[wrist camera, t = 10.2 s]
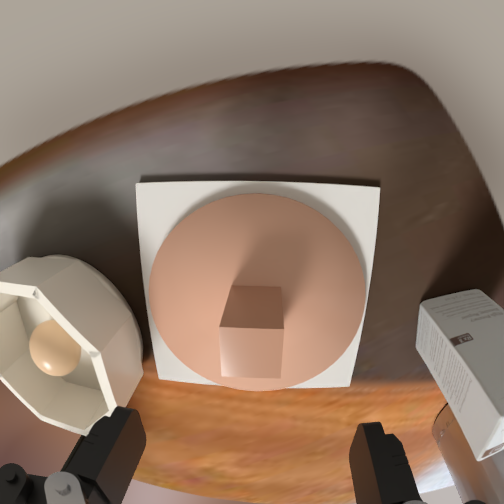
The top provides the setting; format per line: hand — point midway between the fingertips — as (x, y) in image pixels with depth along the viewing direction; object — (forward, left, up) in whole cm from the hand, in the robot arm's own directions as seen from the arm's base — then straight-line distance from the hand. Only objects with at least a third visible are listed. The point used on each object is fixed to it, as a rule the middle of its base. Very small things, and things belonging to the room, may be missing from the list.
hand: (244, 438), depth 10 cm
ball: (+15, +4, -8) cm, 18 cm away
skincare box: (-15, +2, -12) cm, 19 cm away
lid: (0, 0, -11) cm, 11 cm away
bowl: (+15, +4, -12) cm, 19 cm away
